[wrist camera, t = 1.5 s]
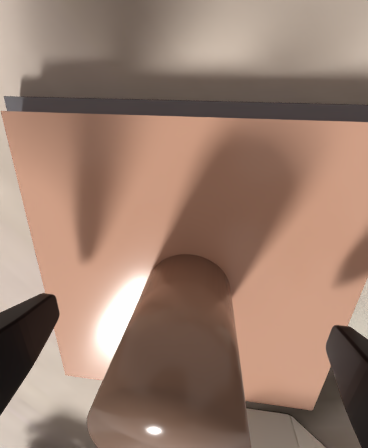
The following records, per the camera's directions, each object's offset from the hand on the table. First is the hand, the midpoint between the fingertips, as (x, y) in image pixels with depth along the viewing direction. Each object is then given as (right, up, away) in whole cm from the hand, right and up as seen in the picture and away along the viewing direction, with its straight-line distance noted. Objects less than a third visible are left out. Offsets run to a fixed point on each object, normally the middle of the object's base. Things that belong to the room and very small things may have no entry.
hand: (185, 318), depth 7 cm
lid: (0, +1, +2) cm, 2 cm away
